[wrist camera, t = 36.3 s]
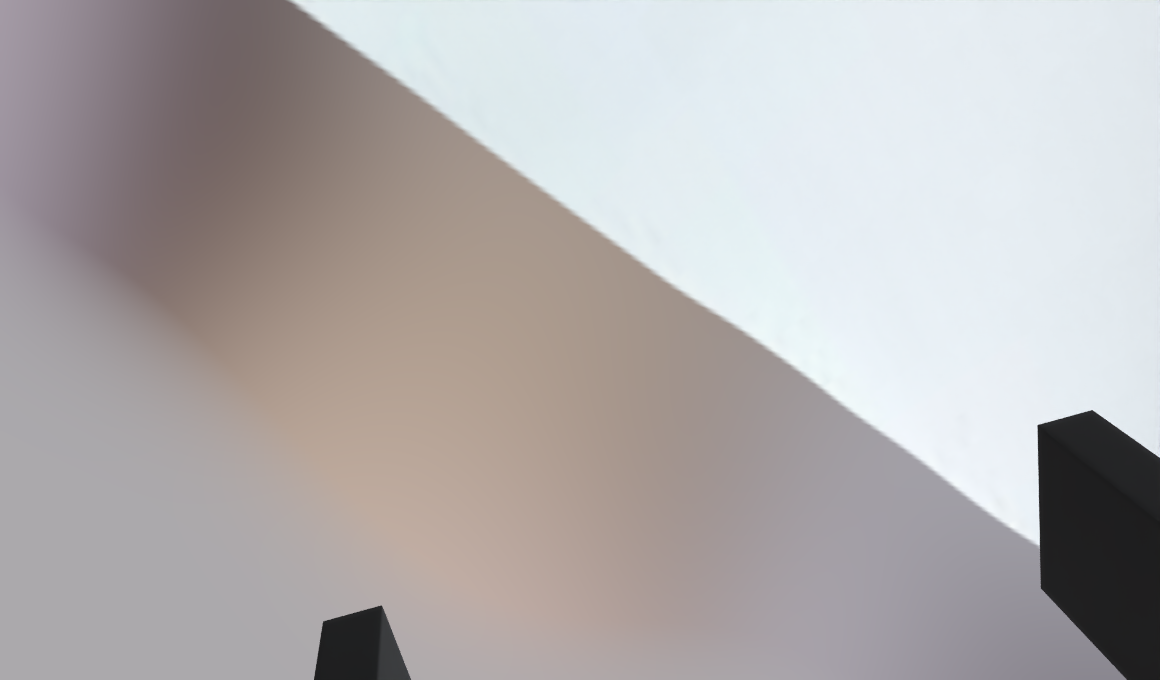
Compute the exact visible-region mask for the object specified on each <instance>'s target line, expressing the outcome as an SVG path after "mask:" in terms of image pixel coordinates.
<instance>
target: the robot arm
mask: <svg viewBox="0 0 1160 680" xmlns="http://www.w3.org/2000/svg"><path fill="white" fill-rule="evenodd" d="M1038 469H1039V519H1040V565H1041V566H1040V568H1041V589H1042V590H1043V591H1044V592H1045V593H1046V594H1047V595H1048V596H1049V597H1050V598H1051V599H1052V600H1053V602H1054V603H1055V604H1056V605H1057V606H1058V607H1059V608H1060V609H1061V610H1062V611H1063V612H1064V613H1065V614H1066V615H1067V616H1068V617H1069V618H1070V620H1071V621H1072V622H1073V623H1074V624H1075V625H1076V626H1077V627H1078V628H1079V629H1080V630H1081V631H1082V632H1083V633H1084V634H1085V635H1086V636H1087V638H1088V639H1089V640H1090V641H1091V642H1092V643H1093V644H1094V645H1095V646H1096V647H1097V648H1098V649H1099V650H1100V651H1101V652H1102V654H1103V655H1104V656H1105V657H1106V658H1107V659H1108V660H1109V661H1110V662H1111V663H1112V664H1113V665H1114V666H1115V667H1116V668H1117V669H1118V671H1120V673H1121V674H1122V675H1123V676H1124V677H1125V678H1126V679H1127V680H1160V458H1159V457H1158V456H1156V455H1155V454H1153V453H1152V452H1151V451H1149V450H1148V449H1146V448H1145V447H1144V446H1142V445H1141V444H1139V443H1138V442H1136V441H1135V440H1134V439H1132V438H1131V437H1129V436H1128V435H1127V434H1125V433H1124V432H1122V431H1121V430H1120V429H1118V428H1117V427H1115V426H1114V425H1113V424H1111V423H1110V422H1108V421H1107V420H1105V419H1104V418H1103V417H1101V416H1100V415H1098V414H1097V413H1096V412H1094V411H1093V410H1091V411H1087V412H1084V413H1080V414H1077V415H1073V416H1069V417H1066V418H1062V419H1058V420H1055V421H1051V422H1047V423H1044V424H1040V425H1038ZM314 680H411V679H410V676H409V674H408V671H407V668H406V666H405V663H404V661H403V658H402V656H401V653H400V650H399V648H398V646H397V643H396V640H395V638H394V635H393V633H392V630H391V628H390V625H389V622H388V620H387V617H386V615H385V612H384V609H383V607H382V606H378V607H375V608H371V609H367V610H364V611H360V612H356V613H353V614H349V615H345V616H341V617H338V618H334V619H331V620H327V621H324V622H323V626H322V632H321V639H320V645H319V651H318V658H317V664H316V670H315V677H314Z"/></svg>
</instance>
